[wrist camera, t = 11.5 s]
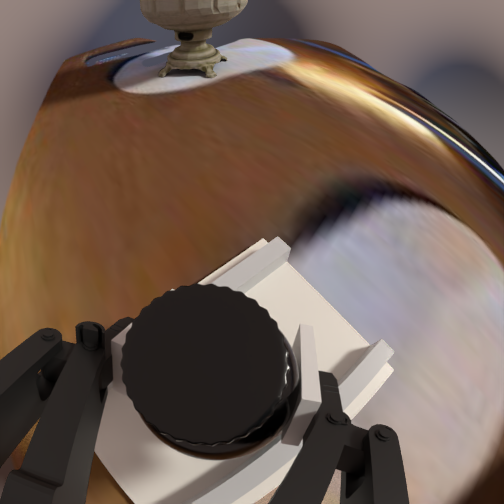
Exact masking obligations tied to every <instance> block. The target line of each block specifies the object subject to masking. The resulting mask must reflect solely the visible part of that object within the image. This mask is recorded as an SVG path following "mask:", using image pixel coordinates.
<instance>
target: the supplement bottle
mask: <svg viewBox="0 0 504 504" xmlns="http://www.w3.org/2000/svg"><path fill="white" fill-rule="evenodd" d="M121 349H122V355H123V357H122V359H121V363H120V365H121V368H122V370H123V374H122V381H123V383H124V384H125V386H126V392H127V396H128V397H129V398H130V399H131V400H132V401H133V405H134V408H135V410H136V411H137V412H138V414H139V416H140V417H141V419H142V421H143V422H144V424H145V425H146V426H147V428H148V429H149V430H150V431H151V432H152V433H153V434H154V435H155V436H156V437H157V438H158V439H159V440H160V441H162V442H163V443H164V444H165V445H167V446H169V447H170V448H172V449H173V450H175V451H177V452H179V453H182V454H184V455H187V456H190V457H193V458H197V459H203V460H213V461H219V460H230V459H235V458H240V457H243V456H246V455H249V454H251V453H253V452H255V451H257V450H259V449H261V448H262V447H264V446H265V445H267V444H268V443H269V442H271V441H272V440H273V439H274V438H275V437H276V436H277V435H278V434H279V433H280V432H281V431H282V430H283V428H284V427H285V426H286V424H287V423H288V421H289V419H290V417H291V416H292V413H293V411H294V409H295V406H296V402H297V398H298V393H299V370H298V365H297V360H296V357H295V354H294V352H293V350H292V347H291V345H290V343H289V342H288V340H287V338H286V337H285V336H284V334H283V333H282V331H281V330H280V329H279V328H278V324H277V322H276V321H275V320H274V319H272V318H271V317H270V315H269V312H268V310H267V309H265V308H263V307H261V306H259V304H258V302H257V301H256V300H255V299H253V298H249V297H247V296H246V295H245V294H244V293H243V292H241V291H233V290H232V289H231V288H229V287H228V286H221V287H219V286H216V285H215V284H206V285H201V284H198V283H196V284H193V285H191V286H180V287H179V288H177V289H176V290H171V291H167V292H166V293H164V295H163V296H161V297H158V298H155V299H153V301H152V302H151V304H150V305H148V306H146V307H144V308H143V309H142V310H141V312H140V315H139V316H138V317H136V318H135V319H134V320H133V322H132V326H131V328H130V330H129V331H128V332H127V333H126V338H125V343H124V345H123V347H122V348H121Z"/></svg>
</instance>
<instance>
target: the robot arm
mask: <svg viewBox="0 0 504 504" xmlns="http://www.w3.org/2000/svg"><path fill="white" fill-rule="evenodd" d="M171 290H174V289H171ZM171 290H170V291H171ZM133 320H134V319H132V318H130V317H126V318H123V319H120V320H118V321H117V322H116V323H115V324H114V325H112V326H111V327H110V328H108V329H107V330H106V331H105V329H104V327H103V326H102V325H100V324H99V323H96V322H90V321H87V322H82V323H79V324H78V325H77V326H76V341H77V343H76V344H74V343H70V342H66V341H62V335H61V333H60V332H59V331H58V330H56V329H53V328H44V329H41V330H39V331H37V332H36V333H34V334H33V335H32V336H30V337H29V338H28V339H26V340H25V341H24V342H23V343H21V344H20V345H19V346H17V347H16V348H15V349H14V350H12V351H11V352H10V353H9V354H7V355H6V356H5V357H4V358H2V359H1V360H0V468H1V466H2V465H3V464H4V462H5V461H6V459H7V458H8V457H9V456H10V454H11V453H12V452H13V450H14V449H15V448H16V447H17V445H18V444H19V443H20V442H21V440H22V439H23V438H24V437H25V435H26V434H27V433H28V432H29V430H30V429H31V428H32V427H33V425H34V424H35V423H36V422H37V420H38V419H39V418H40V419H39V422H38V424H37V427H36V429H35V431H34V434H33V436H32V439H31V442H30V444H29V447H28V449H27V452H26V455H25V458H24V461H23V463H22V466H21V468H20V469H19V470H12V471H11V472H10V473H9V475H8V477H7V480H6V483H5V486H4V489H3V492H2V496H1V499H0V504H85V502H86V494H87V488H88V482H89V476H90V470H91V465H92V459H93V454H94V449H95V445H96V440H97V435H98V431H99V427H100V422H101V418H102V414H103V410H104V406H105V402H106V399H107V395H108V385H109V384H110V383H111V382H112V381H113V390H115V391H117V392H119V393H121V394H123V395H126V396H127V392H126V386H125V384H124V383H123V381H122V374H123V370H122V368H121V365H120V363H121V359H122V357H123V355H122V349H121V348H122V347H123V345H124V343H125V338H126V333H127V332H128V331H129V330H130V328H131V326H132V322H133ZM292 350H293V352H294V354H295V357H296V360H297V365H298V370H299V393H298V398H297V402H296V406H295V409H294V411H293V413H292V416H291V417H290V419H289V421H288V423H287V424H286V426H285V427H284V428H283V430H282V437H281V444H287V445H293V446H299V444H300V443H301V441H302V439H303V446H302V448H301V450H300V451H299V453H298V455H297V457H296V458H295V460H294V462H293V464H292V466H291V467H290V469H289V471H288V472H287V474H286V476H285V477H284V479H283V481H282V482H281V484H280V485H279V487H278V489H277V490H276V492H275V493H274V495H273V496H272V498H271V500H270V501H269V503H268V504H321V502H322V500H323V498H324V496H325V493H326V491H327V489H328V486H329V484H330V482H331V479H332V477H333V474H334V472H335V469H338V470H341V492H340V504H409V498H408V491H407V484H406V478H405V472H404V466H403V461H402V455H401V450H400V445H399V440H398V436H397V434H396V432H395V431H394V430H393V429H392V428H390V427H388V426H386V425H382V424H376V425H374V426H372V427H371V428H370V429H369V431H368V430H365V429H362V428H359V427H357V426H354V425H353V424H351V420H350V418H349V416H348V415H347V414H346V413H345V412H343V409H342V404H341V398H340V394H339V388H338V382H337V379H336V378H335V376H334V375H333V374H332V373H329V372H324V371H319V370H318V363H317V355H316V346H315V338H314V330H313V326H309V325H305V324H301V323H300V325H299V328H298V331H297V334H296V337H295V340H294V343H293V346H292ZM40 369H41V372H40V373H38V372H39V370H40ZM37 373H38V374H37Z"/></svg>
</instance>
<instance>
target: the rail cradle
mask: <svg viewBox="0 0 504 504" xmlns="http://www.w3.org/2000/svg"><path fill="white" fill-rule="evenodd" d="M290 250H291V248H290V247H289V246H288V245H287V244H286V243H285V242H284V241H282V240H281V239H280V238H279V237H276V238H275V239H273V240H272V241H271V242H269V243H268V242H267V241H266V240H265V239H264V238H263V239H262V240H260V241H259V242H257V243H256V244H254V245H253V246H251V247H250V248H248V249H247V250H246V251H244V252H243V253H241V254H240V255H238V256H237V257H235V258H234V259H232V260H231V261H229V262H228V263H227V264H225V265H224V266H222V267H221V268H219V269H218V270H216V271H215V272H213V273H212V274H211V275H209V276H208V277H206V278H205V279H203V280H202V281H200V282H199V283H198V284H201V285H206V284H215V285H216V286H219V287H221V286H228V287H229V288H231V289H232V290H233V291H241V292H243V293H244V294H245V295H246V296H247V297H249V298H253V299H255V300H256V301H257V302H258V304H259V306H261V307H263V308H265V309H267V310H268V312H269V315H270V317H271V318H272V319H274V320H275V321H276V322H277V324H278V328H279V329H280V330H281V331H282V333H283V334H284V336H285V337H286V338H287V340H288V342H289V343H290V345H291V347H292V346H293V343H294V340H295V337H296V334H297V331H298V328H299V325H300V323H301V324H305V325H309V326H313V330H314V338H315V346H316V355H317V363H318V370H319V371H324V372H329V373H332V374H333V375H334V376H335V378H336V379H337V382H338V388H339V394H340V398H341V404H342V409H343V412H345V413H346V414H347V415H348V416H349V418H350V420H352V419H353V418H354V416H355V415H356V414H357V413H358V412H359V411H360V410H361V409H362V408H363V407H364V406H365V404H366V403H367V402H368V401H369V400H370V399H371V398H372V396H373V395H374V394H375V393H376V392H377V391H378V389H379V388H380V387H381V386H382V385H383V383H384V382H385V381H386V380H387V378H388V377H389V376H390V375H391V373H392V372H393V371H394V369H393V368H392V367H391V366H390V365H389V364H388V363H387V361H388V360H389V358H390V357H391V356H392V355H393V353H394V351H393V350H392V349H391V348H390V347H389V346H388V345H387V344H386V343H385V341H384V340H383V339H380V340H379V341H377V342H376V343H374V344H372V345H370V344H369V343H368V342H367V341H366V340H365V339H364V338H363V337H362V336H361V335H360V334H359V333H358V332H357V331H356V330H355V329H354V328H353V327H352V326H351V325H350V324H349V323H348V322H347V321H346V320H345V319H344V318H343V317H342V316H341V315H340V314H339V313H338V312H337V311H336V310H335V309H334V308H333V307H332V306H331V305H330V304H329V303H328V302H327V301H326V300H325V299H324V298H323V297H322V296H321V295H320V294H319V293H318V292H317V291H316V290H315V289H314V288H313V287H312V286H311V285H310V284H309V283H308V282H307V281H306V280H305V279H304V278H303V277H302V276H301V275H300V274H299V273H298V272H297V271H296V270H295V269H294V268H293V267H292V266H291V265H290V264H289V263H288V262H287V259H288V256H289V253H290ZM281 437H282V431H281V432H280V433H279V434H278V435H277V436H276V437H275V438H274V439H273V440H272V441H271V442H269V443H268V444H267V445H265V446H264V447H262V448H261V449H259V450H257V451H255V452H253V453H251V454H249V455H246V456H243V457H240V458H235V459H230V460H219V461H213V460H203V459H197V458H193V457H190V456H187V455H184V454H182V453H179V452H177V451H175V450H173V449H172V448H170V447H169V446H167V445H165V444H164V443H163V442H162V441H160V440H159V439H158V438H157V437H156V436H155V435H154V434H153V433H152V432H151V431H150V430H149V429H148V428H147V426H146V425H145V424H144V422H143V421H142V419H141V417H140V416H139V414H138V412H137V411H136V410H135V408H134V405H133V401H132V400H131V399H130V398H129V397H128V396H126V395H123V394H121V393H119V392H117V391H115V390H113V381H112V382H111V383H110V384H109V385H108V395H107V399H106V402H105V406H104V410H103V414H102V418H101V422H100V427H99V431H98V435H97V440H96V445H95V449H94V451H95V453H96V454H97V456H98V457H99V459H100V460H101V462H102V463H103V464H104V466H105V467H106V468H107V470H108V471H109V472H110V474H111V475H112V476H113V478H114V479H115V480H116V482H117V483H118V484H119V485H120V487H121V488H122V489H123V490H124V492H125V493H126V494H127V495H128V496H129V498H130V499H131V500H132V501H133V502H134V503H135V504H254V503H255V502H256V501H258V500H259V499H261V498H262V497H264V496H265V495H266V494H268V493H269V492H270V491H272V490H273V489H274V488H276V487H277V486H278V485H280V484H281V482H282V481H283V479H284V477H285V476H286V474H287V472H288V471H289V469H290V467H291V466H292V464H293V462H294V460H295V458H296V457H297V455H298V453H299V451H300V450H301V448H302V446H303V439H302V441H301V443H300V444H299V446H293V445H287V444H281Z"/></svg>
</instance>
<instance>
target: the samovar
mask: <svg viewBox="0 0 504 504" xmlns="http://www.w3.org/2000/svg"><path fill="white" fill-rule="evenodd" d="M247 1H248V0H140V6H141V11H142V14H143V15H144V17H145V18H146V19H147V20H148V21H149V22H151V23H154V24H157V25H159V26H161V27H162V28H164V29H168V30H174V31H175V39H176V40H177V41H181V46H179V47H177V48H175V49H174V51H173V52H171V53H170V54H169V55H168V61H167V62H166V66H165V68H164V69H162V70H160V72H159V74H158V76H159V77H165V75H166V74H167V73H169V72H170V70H172V69H180V70H182V69H194V68H195V69H199V70H201V71H203V72H205V74H206V77H209V78H214V77H215V76H217V75H216V73H215V72H214V71H213V67H214V64H216V63H219V61H220V60H221V59H226V61H227V58H226V57H224V56H222V55H221V54H220V52H219V51H218V50H217V49H215V48H214V47H213V46H211V45H209V44H206V39H209V38H211V37H212V28H213V27H216V26H219V25H222V24H224V23H226V22H227V21H229V20H230V19H231V18H233V17H235V16H236V15H238V14H239V13H240V12H241V11H242V10H243V9H244V7H245V6H246V3H247Z"/></svg>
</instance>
